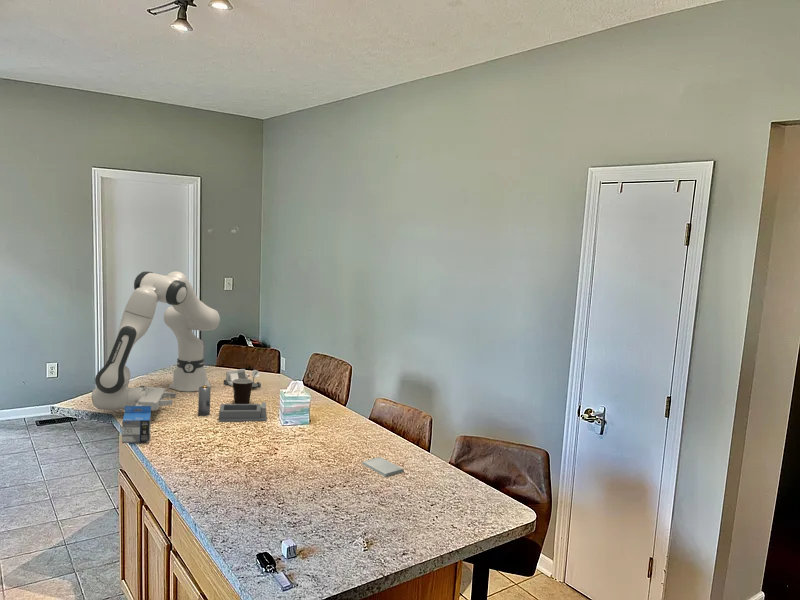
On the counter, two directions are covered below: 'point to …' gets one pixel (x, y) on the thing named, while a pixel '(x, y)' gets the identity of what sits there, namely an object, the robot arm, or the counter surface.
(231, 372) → the toy lunar rover
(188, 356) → the robot arm
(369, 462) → the hard drive
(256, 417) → the cradle
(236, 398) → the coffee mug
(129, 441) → the label tape cartridge
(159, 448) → the counter surface
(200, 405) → the cell
